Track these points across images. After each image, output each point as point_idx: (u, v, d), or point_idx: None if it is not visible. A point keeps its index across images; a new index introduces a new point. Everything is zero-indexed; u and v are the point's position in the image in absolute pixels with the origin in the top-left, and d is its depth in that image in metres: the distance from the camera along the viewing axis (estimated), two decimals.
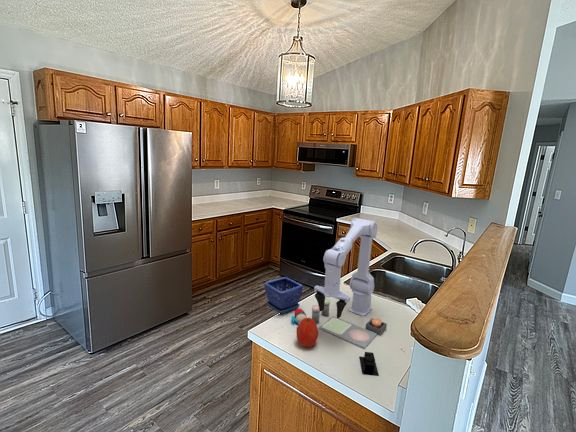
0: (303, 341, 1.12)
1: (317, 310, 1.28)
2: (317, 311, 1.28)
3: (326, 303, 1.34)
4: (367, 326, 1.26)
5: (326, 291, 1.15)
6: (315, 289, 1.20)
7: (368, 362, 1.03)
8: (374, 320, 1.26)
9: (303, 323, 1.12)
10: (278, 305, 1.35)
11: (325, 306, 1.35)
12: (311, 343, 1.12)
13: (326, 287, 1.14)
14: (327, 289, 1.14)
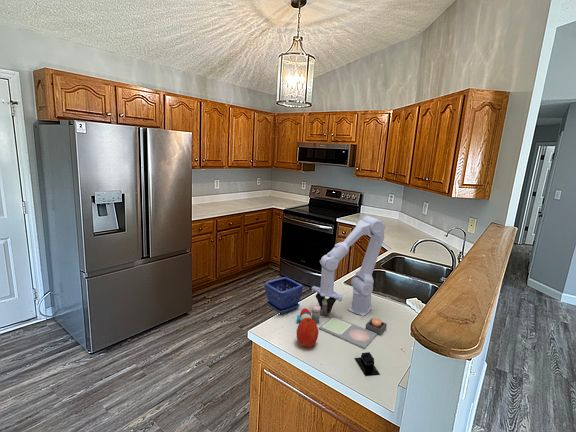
0: (303, 341, 1.12)
1: (317, 309, 1.28)
2: (317, 311, 1.28)
3: (326, 303, 1.34)
4: (367, 326, 1.26)
5: (322, 291, 1.33)
6: (312, 289, 1.38)
7: (368, 363, 1.02)
8: (374, 320, 1.26)
9: (303, 324, 1.12)
10: (278, 305, 1.35)
11: (325, 306, 1.35)
12: (311, 343, 1.12)
13: (322, 287, 1.33)
14: (323, 289, 1.33)
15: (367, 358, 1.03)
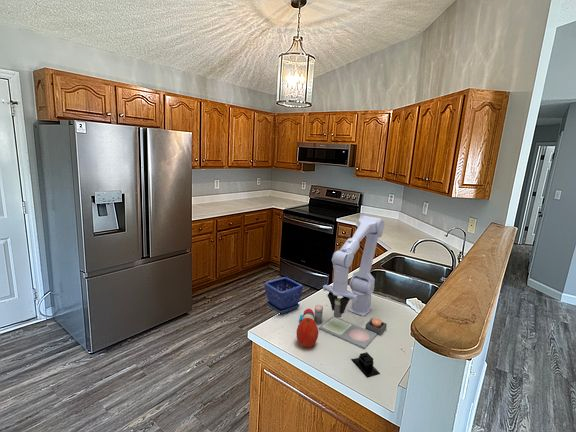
0: (303, 341, 1.12)
1: (320, 309, 1.28)
2: (320, 311, 1.28)
3: (339, 303, 1.23)
4: (367, 326, 1.26)
5: (334, 290, 1.22)
6: (324, 288, 1.28)
7: (368, 363, 1.02)
8: (374, 320, 1.26)
9: (303, 323, 1.12)
10: (278, 305, 1.35)
11: (338, 306, 1.24)
12: (311, 343, 1.12)
13: (334, 286, 1.22)
14: (335, 288, 1.22)
15: (366, 359, 1.02)
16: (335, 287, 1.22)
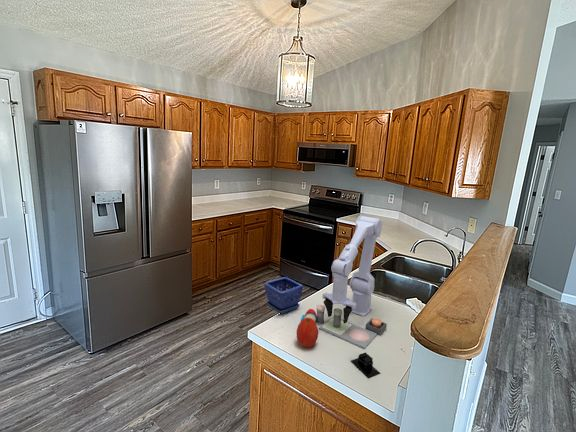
0: (303, 341, 1.12)
1: (322, 309, 1.28)
2: (322, 311, 1.28)
3: (338, 313, 1.24)
4: (367, 326, 1.26)
5: (334, 298, 1.23)
6: (323, 296, 1.28)
7: (368, 363, 1.02)
8: (374, 320, 1.26)
9: (303, 324, 1.12)
10: (278, 305, 1.35)
11: (337, 317, 1.25)
12: (311, 343, 1.12)
13: (334, 294, 1.23)
14: (335, 296, 1.23)
15: (366, 359, 1.02)
16: (334, 295, 1.23)
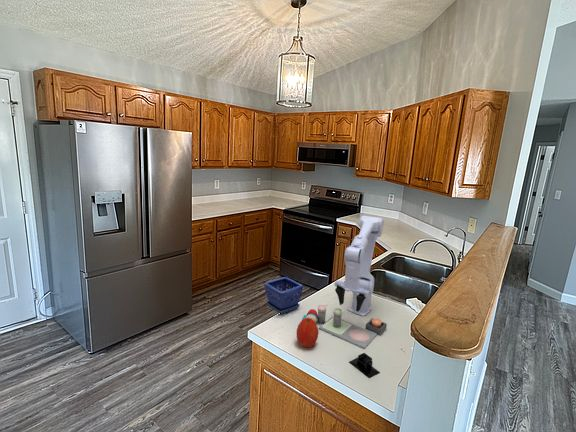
0: (303, 341, 1.12)
1: (323, 310, 1.28)
2: (323, 311, 1.28)
3: (338, 313, 1.24)
4: (367, 326, 1.26)
5: (346, 286, 1.22)
6: (335, 284, 1.27)
7: (368, 364, 1.02)
8: (374, 320, 1.26)
9: (303, 323, 1.12)
10: (278, 305, 1.35)
11: (337, 317, 1.25)
12: (311, 343, 1.12)
13: (346, 282, 1.22)
14: (347, 284, 1.21)
15: (366, 359, 1.02)
16: (347, 283, 1.22)
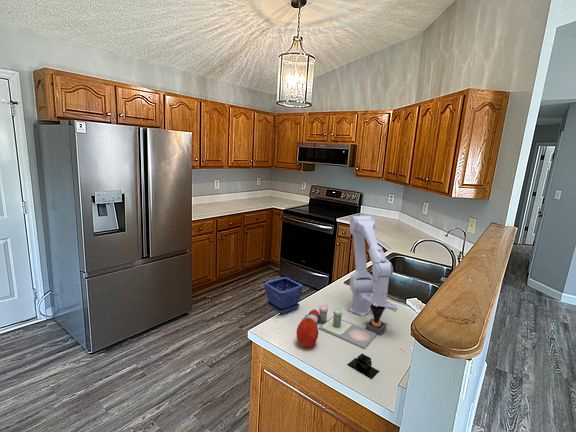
0: (303, 341, 1.12)
1: (325, 310, 1.28)
2: (325, 311, 1.28)
3: (338, 313, 1.24)
4: (367, 326, 1.26)
5: (374, 300, 1.23)
6: (362, 298, 1.28)
7: (368, 364, 1.02)
8: None
9: (303, 324, 1.12)
10: (278, 305, 1.35)
11: (337, 317, 1.25)
12: (311, 343, 1.12)
13: (374, 297, 1.23)
14: (375, 299, 1.22)
15: (366, 360, 1.02)
16: (375, 298, 1.22)
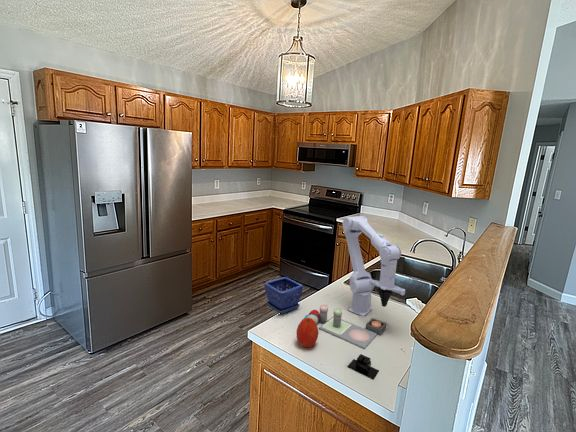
0: (303, 341, 1.12)
1: (325, 309, 1.28)
2: (325, 311, 1.29)
3: (338, 313, 1.24)
4: (367, 326, 1.26)
5: (382, 284, 1.23)
6: (370, 282, 1.28)
7: (368, 365, 1.01)
8: (374, 323, 1.27)
9: (303, 324, 1.12)
10: (278, 305, 1.35)
11: (337, 317, 1.25)
12: (311, 343, 1.12)
13: (382, 280, 1.23)
14: (383, 282, 1.22)
15: (366, 360, 1.01)
16: (383, 281, 1.22)
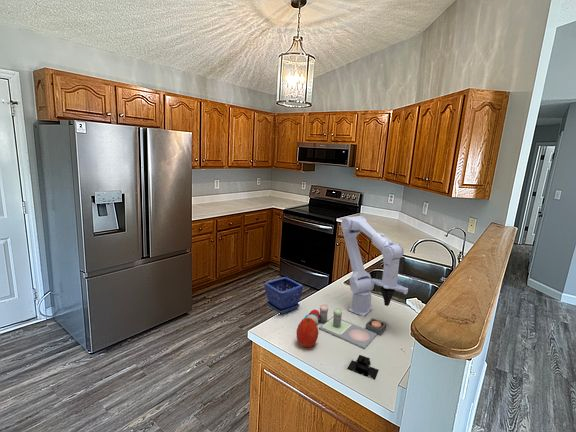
0: (303, 341, 1.12)
1: (326, 309, 1.28)
2: (326, 311, 1.29)
3: (338, 313, 1.24)
4: (367, 326, 1.26)
5: (385, 283, 1.23)
6: (372, 282, 1.28)
7: (368, 365, 1.01)
8: (374, 323, 1.27)
9: (303, 324, 1.12)
10: (278, 305, 1.35)
11: (337, 317, 1.25)
12: (311, 343, 1.12)
13: (385, 279, 1.23)
14: (386, 281, 1.23)
15: (366, 361, 1.01)
16: (385, 280, 1.23)
